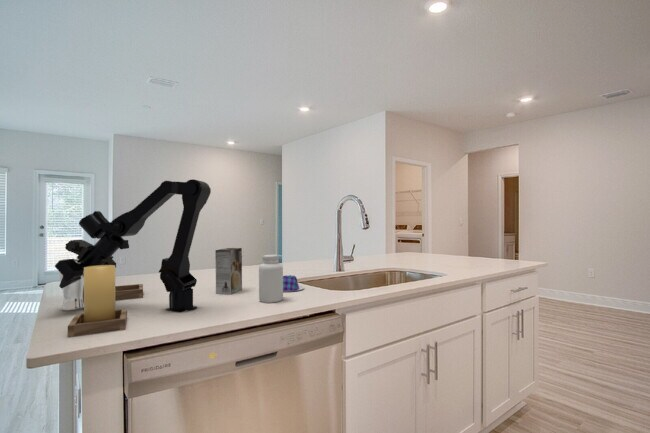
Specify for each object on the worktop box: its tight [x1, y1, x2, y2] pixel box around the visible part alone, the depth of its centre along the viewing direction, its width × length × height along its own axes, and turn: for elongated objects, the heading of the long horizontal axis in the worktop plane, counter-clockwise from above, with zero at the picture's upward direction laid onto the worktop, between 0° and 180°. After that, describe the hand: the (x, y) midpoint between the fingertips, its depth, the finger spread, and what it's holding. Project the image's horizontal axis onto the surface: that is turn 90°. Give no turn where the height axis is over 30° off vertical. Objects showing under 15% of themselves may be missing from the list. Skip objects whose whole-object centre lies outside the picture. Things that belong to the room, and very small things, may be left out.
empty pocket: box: [115, 283, 144, 301], centre depth 121 cm, size 11×11×3 cm
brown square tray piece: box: [67, 308, 128, 338], centre depth 86 cm, size 11×11×3 cm
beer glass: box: [59, 257, 84, 312], centre depth 106 cm, size 7×7×15 cm
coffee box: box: [215, 247, 243, 295], centre depth 128 cm, size 9×6×16 cm
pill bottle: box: [258, 254, 284, 304], centre depth 114 cm, size 8×8×15 cm
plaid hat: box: [283, 274, 305, 293], centre depth 132 cm, size 12×12×5 cm
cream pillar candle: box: [83, 265, 116, 323], centre depth 86 cm, size 7×7×15 cm
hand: (70, 285), depth 106 cm, fingers closed on beer glass, 7 cm apart
